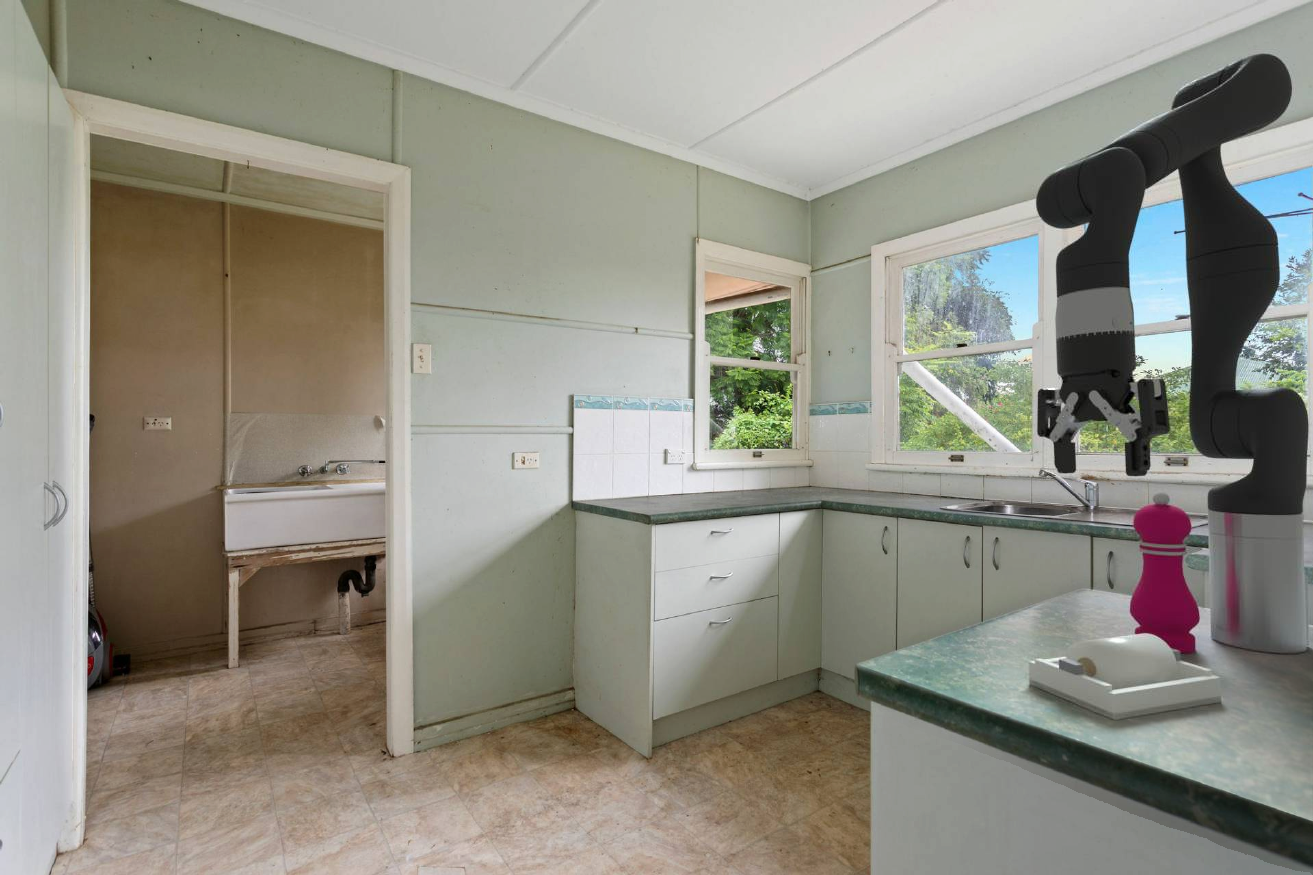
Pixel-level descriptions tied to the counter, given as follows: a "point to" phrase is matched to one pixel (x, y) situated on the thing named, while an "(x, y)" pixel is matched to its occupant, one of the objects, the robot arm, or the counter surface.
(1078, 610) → the counter surface
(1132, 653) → the paper roll
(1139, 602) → the pepper mill
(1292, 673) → the counter surface
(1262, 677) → the counter surface
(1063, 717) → the counter surface
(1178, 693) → the holder
